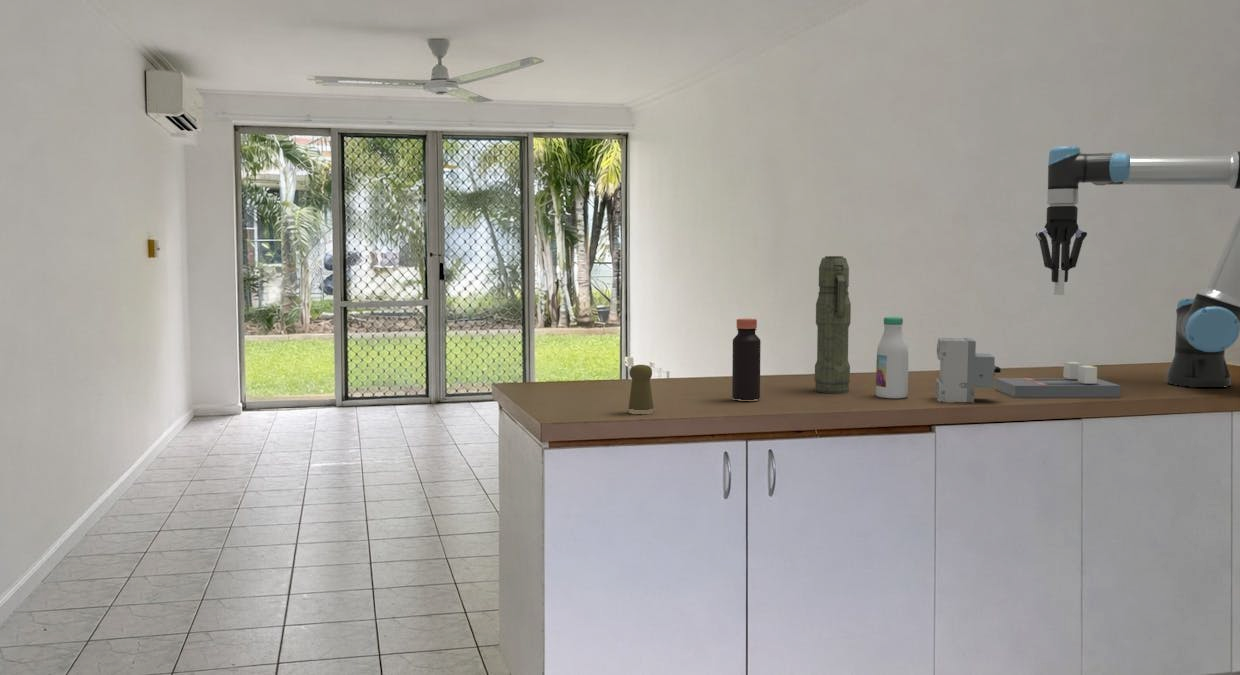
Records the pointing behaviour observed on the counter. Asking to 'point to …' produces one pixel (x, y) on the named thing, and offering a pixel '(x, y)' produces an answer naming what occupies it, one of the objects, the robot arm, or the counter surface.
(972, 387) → the circuit breaker
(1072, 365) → the light grey block
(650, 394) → the olive green shaker
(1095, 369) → the white block
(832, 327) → the thermos
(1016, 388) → the panel
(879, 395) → the milk bottle
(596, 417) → the counter surface
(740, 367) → the vinegar
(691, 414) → the counter surface
